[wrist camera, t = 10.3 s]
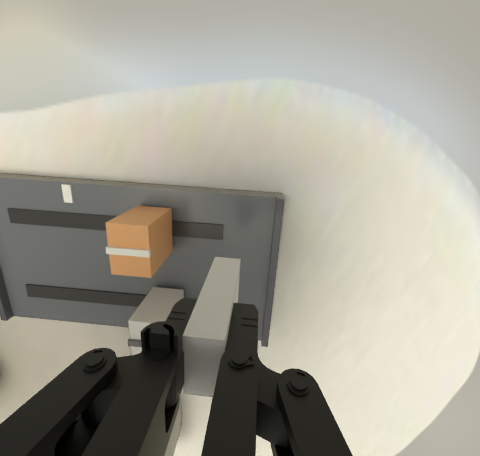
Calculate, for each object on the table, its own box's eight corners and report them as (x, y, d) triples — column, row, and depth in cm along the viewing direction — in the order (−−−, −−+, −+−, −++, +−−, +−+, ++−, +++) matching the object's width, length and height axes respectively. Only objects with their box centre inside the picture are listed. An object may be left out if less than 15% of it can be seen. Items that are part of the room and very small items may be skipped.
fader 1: (140, 247, 24) (108, 275, 19) (137, 205, 23) (102, 223, 18) (173, 250, 24) (150, 279, 19) (172, 208, 23) (147, 227, 18)
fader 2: (154, 321, 27) (130, 362, 22) (152, 286, 25) (126, 322, 20) (184, 324, 26) (166, 366, 21) (184, 289, 25) (165, 326, 20)
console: (24, 304, 30) (1, 320, 28) (-9, 172, 25) (-40, 176, 23) (266, 327, 29) (267, 346, 26) (281, 193, 24) (284, 199, 21)
